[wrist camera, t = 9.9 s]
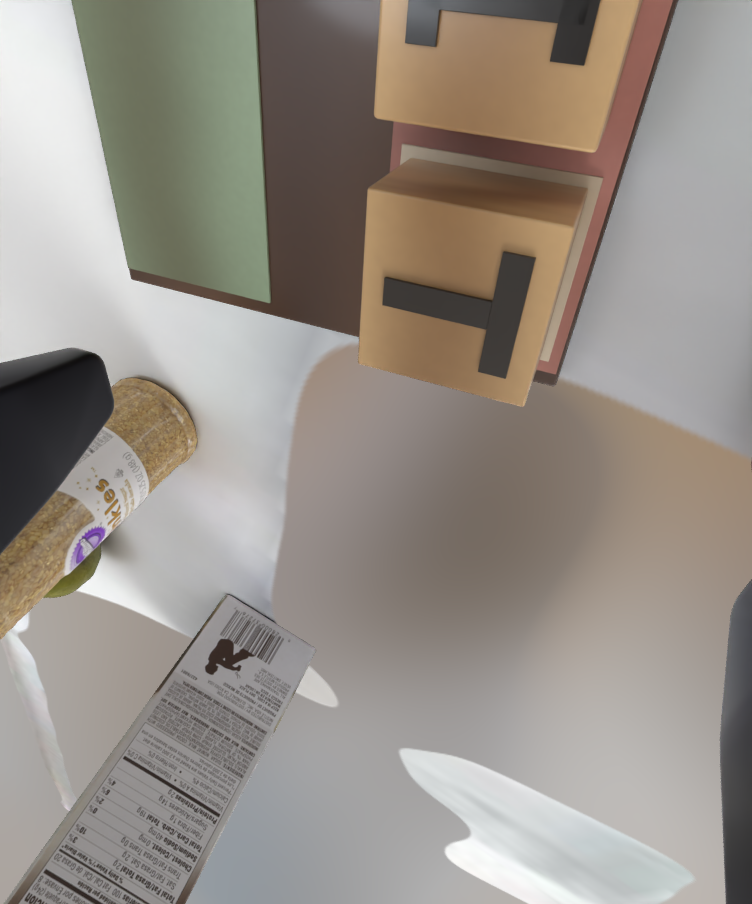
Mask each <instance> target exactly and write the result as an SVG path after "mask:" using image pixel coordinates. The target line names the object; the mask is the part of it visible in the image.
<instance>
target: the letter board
mask: <svg viewBox="0 0 752 904" xmlns="http://www.w3.org/2000/svg"><path fill="white" fill-rule="evenodd" d="M677 3H678V0H643V2H642V6H641V9H640V13H639V16H638V20H637V23H636V27H635V30H634V34H633V37H632V41H631V44H630V48H629V51H628V55H627V58H626V62H625V65H624V69H623V72H622V76H621V79H620V83H619V86H618V90H617V93H616V97H615V100H614V103H613V107H612V110H611V114H610V117H609V121H608V124H607V126H606V129H605V131H604V134H603V136H602V139H601V141H600V144H599V146H598V149H597V150H596V152H593V153H588V152H581V151H575V150H569V149H563V148H556V147H550V146H544V145H538V144H531V143H525V142H519V141H513V140H506V139H500V138H494V137H488V136H481V135H475V134H469V133H463V132H456V131H450V130H444V129H438V128H431V127H425V126H419V125H413V124H406V123H400V122H394V121H388V120H382V119H377V118H376V117H375V116H374V104H375V87H376V69H377V52H378V35H379V17H380V0H72V5H73V10H74V14H75V19H76V24H77V29H78V33H79V38H80V43H81V47H82V52H83V57H84V62H85V66H86V71H87V76H88V80H89V85H90V90H91V95H92V99H93V104H94V109H95V113H96V118H97V123H98V128H99V132H100V137H101V142H102V146H103V151H104V156H105V161H106V165H107V170H108V175H109V179H110V184H111V189H112V194H113V198H114V203H115V208H116V212H117V217H118V222H119V227H120V231H121V236H122V241H123V246H124V250H125V255H126V260H127V264H128V268H129V270H130V275H131V279H133V280H136V281H140V282H144V283H148V284H152V285H156V286H160V287H164V288H168V289H172V290H176V291H180V292H184V293H188V294H191V295H195V296H199V297H203V298H207V299H211V300H215V301H219V302H223V303H227V304H231V305H235V306H239V307H243V308H247V309H251V310H254V311H258V312H262V313H266V314H270V315H274V316H278V317H282V318H286V319H290V320H294V321H298V322H302V323H306V324H310V325H314V326H317V327H321V328H325V329H329V330H333V331H337V332H341V333H345V334H349V335H353V336H357V337H359V336H360V318H361V300H362V282H363V264H364V246H365V227H366V209H367V191H368V188H369V187H370V186H372V185H373V184H375V183H376V182H377V181H379V180H380V179H382V178H383V177H384V176H386V175H387V174H389V173H390V172H391V171H393V170H394V169H396V168H397V167H398V166H400V165H401V164H403V163H404V162H405V161H407V160H408V159H410V158H415V159H421V160H427V161H433V162H438V163H444V164H450V165H456V166H462V167H467V168H473V169H479V170H485V171H490V172H496V173H502V174H508V175H514V176H519V177H525V178H531V179H537V180H542V181H548V182H554V183H560V184H565V185H571V186H577V187H583V188H587V189H588V194H587V198H586V201H585V205H584V208H583V212H582V215H581V218H580V222H579V225H578V229H577V232H576V236H575V239H574V243H573V246H572V250H571V253H570V257H569V260H568V264H567V267H566V271H565V274H564V278H563V281H562V285H561V288H560V292H559V295H558V299H557V302H556V306H555V309H554V313H553V316H552V320H551V323H550V327H549V330H548V334H547V337H546V341H545V344H544V348H543V351H542V354H541V357H540V360H539V363H538V366H537V369H536V372H535V376H534V379H533V381H534V382H538V383H542V384H546V385H550V386H555V385H556V383H557V380H558V377H559V374H560V371H561V368H562V364H563V361H564V358H565V355H566V352H567V349H568V346H569V342H570V339H571V336H572V333H573V330H574V327H575V324H576V320H577V317H578V314H579V311H580V308H581V305H582V302H583V298H584V295H585V292H586V289H587V286H588V283H589V280H590V276H591V273H592V270H593V267H594V264H595V261H596V258H597V254H598V251H599V248H600V245H601V242H602V239H603V235H604V232H605V229H606V226H607V223H608V220H609V217H610V213H611V210H612V207H613V204H614V201H615V198H616V195H617V191H618V188H619V185H620V182H621V179H622V176H623V173H624V169H625V166H626V163H627V160H628V157H629V154H630V151H631V147H632V144H633V141H634V138H635V135H636V132H637V129H638V125H639V122H640V119H641V116H642V113H643V110H644V106H645V103H646V100H647V97H648V94H649V91H650V88H651V84H652V81H653V78H654V75H655V72H656V69H657V66H658V62H659V59H660V56H661V53H662V50H663V47H664V44H665V40H666V37H667V34H668V31H669V28H670V25H671V22H672V18H673V15H674V12H675V9H676V6H677Z"/></svg>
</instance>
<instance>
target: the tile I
mask: <svg viewBox="0 0 752 904" xmlns="http://www.w3.org/2000/svg"><path fill="white" fill-rule="evenodd" d="M642 2H643V0H380V17H379V35H378V52H377V69H376V87H375V104H374V116H375V117H376V118H377V119H382V120H388V121H394V122H400V123H406V124H413V125H419V126H425V127H431V128H438V129H444V130H450V131H456V132H463V133H469V134H475V135H481V136H488V137H494V138H500V139H506V140H513V141H519V142H525V143H531V144H538V145H544V146H550V147H556V148H563V149H569V150H575V151H581V152H588V153H593V152H596V150H597V149H598V146H599V144H600V141H601V139H602V136H603V134H604V131H605V129H606V126H607V124H608V121H609V117H610V114H611V110H612V107H613V103H614V100H615V97H616V93H617V90H618V86H619V83H620V79H621V76H622V72H623V69H624V65H625V62H626V58H627V55H628V51H629V48H630V44H631V41H632V37H633V34H634V30H635V27H636V23H637V20H638V16H639V13H640V9H641V6H642Z"/></svg>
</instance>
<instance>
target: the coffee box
mask: <svg viewBox="0 0 752 904" xmlns="http://www.w3.org/2000/svg"><path fill="white" fill-rule="evenodd" d="M315 652H316V649H315V648H314V647H313V646H311V645H309V644H308V643H306V642H305V641H303V640H302V639H300V638H298V637H297V636H295V635H293V634H292V633H290V632H288V631H287V630H285V629H284V628H282V627H280V626H279V625H277V624H276V623H274V622H272V621H271V620H269V619H267V618H266V617H264V616H263V615H261V614H260V613H258V612H256V611H255V610H253V609H252V608H250V607H248V606H247V605H245V604H243V603H242V602H240V601H239V600H237V599H236V598H234V597H232V596H231V595H225V596H224V597H223V598H222V600H221V601H220V603H219V604H218V605H217V607H216V608H215V610H214V611H213V612H212V614H211V615H210V617H209V618H208V619H207V621H206V622H205V624H204V625H203V626H202V628H201V629H200V631H199V632H198V633H197V635H196V636H195V638H194V639H193V640H192V642H191V643H190V645H189V646H188V647H187V649H186V650H185V651H184V653H183V654H182V656H181V657H180V658H179V660H178V661H177V663H176V664H175V665H174V667H173V668H172V669H171V671H170V672H169V674H168V675H167V677H166V678H165V679H164V681H163V682H162V684H161V685H160V686H159V688H158V689H157V690H156V692H155V693H154V695H153V696H152V697H151V698H150V700H149V701H148V703H147V704H146V705H145V707H144V708H143V710H142V711H141V712H140V714H139V715H138V717H137V718H136V719H135V721H134V722H133V724H132V725H131V727H130V728H129V729H128V731H127V732H126V733H125V735H124V736H123V738H122V739H121V740H120V742H119V743H118V745H117V746H116V747H115V748H114V750H113V751H112V753H111V754H110V756H109V757H108V758H107V760H106V761H105V762H104V764H103V765H102V767H101V768H100V769H99V771H98V772H97V774H96V775H95V776H94V778H93V779H92V781H91V782H90V783H89V785H88V786H87V788H86V789H85V790H84V792H83V793H82V794H81V796H80V797H79V799H78V800H77V801H76V803H75V804H74V805H73V807H72V808H71V810H70V811H69V813H68V814H67V816H66V817H65V818H64V820H63V821H62V822H61V824H60V825H59V827H58V828H57V829H56V831H55V832H54V834H53V835H52V836H51V838H50V839H49V841H48V842H47V843H46V845H45V846H44V848H43V849H42V850H41V852H40V853H39V855H38V856H37V857H36V859H35V860H34V862H33V863H32V864H31V866H30V867H29V869H28V870H27V872H26V873H25V874H24V876H23V877H22V879H21V880H20V881H19V883H18V884H17V886H16V887H15V889H14V890H13V891H12V893H11V894H10V896H9V897H8V899H7V900H6V901H5V903H4V904H185V903H186V901H187V899H188V897H189V895H190V893H191V891H192V889H193V887H194V885H195V884H196V882H197V880H198V878H199V876H200V874H201V872H202V870H203V868H204V866H205V864H206V862H207V860H208V859H209V856H210V854H211V852H212V851H213V849H214V847H215V845H216V843H217V841H218V839H219V837H220V835H221V833H222V831H223V830H224V827H225V826H226V824H227V822H228V820H229V818H230V816H231V814H232V812H233V810H234V808H235V806H236V805H237V802H238V801H239V799H240V797H241V795H242V793H243V791H244V789H245V787H246V785H247V783H248V781H249V779H250V778H251V776H252V774H253V772H254V770H255V768H256V766H257V764H258V762H259V760H260V758H261V756H262V754H263V752H264V751H265V749H266V747H267V745H268V743H269V741H270V739H271V737H272V735H273V733H274V732H275V730H276V728H277V726H278V724H279V722H280V721H281V719H282V717H283V715H284V713H285V710H286V709H287V707H288V705H289V703H290V701H291V699H292V697H293V695H294V693H295V691H296V689H297V687H298V685H299V683H300V682H301V680H302V678H303V676H304V674H305V672H306V670H307V668H308V666H309V664H310V661H311V660H312V658H313V656H314V654H315Z"/></svg>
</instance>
